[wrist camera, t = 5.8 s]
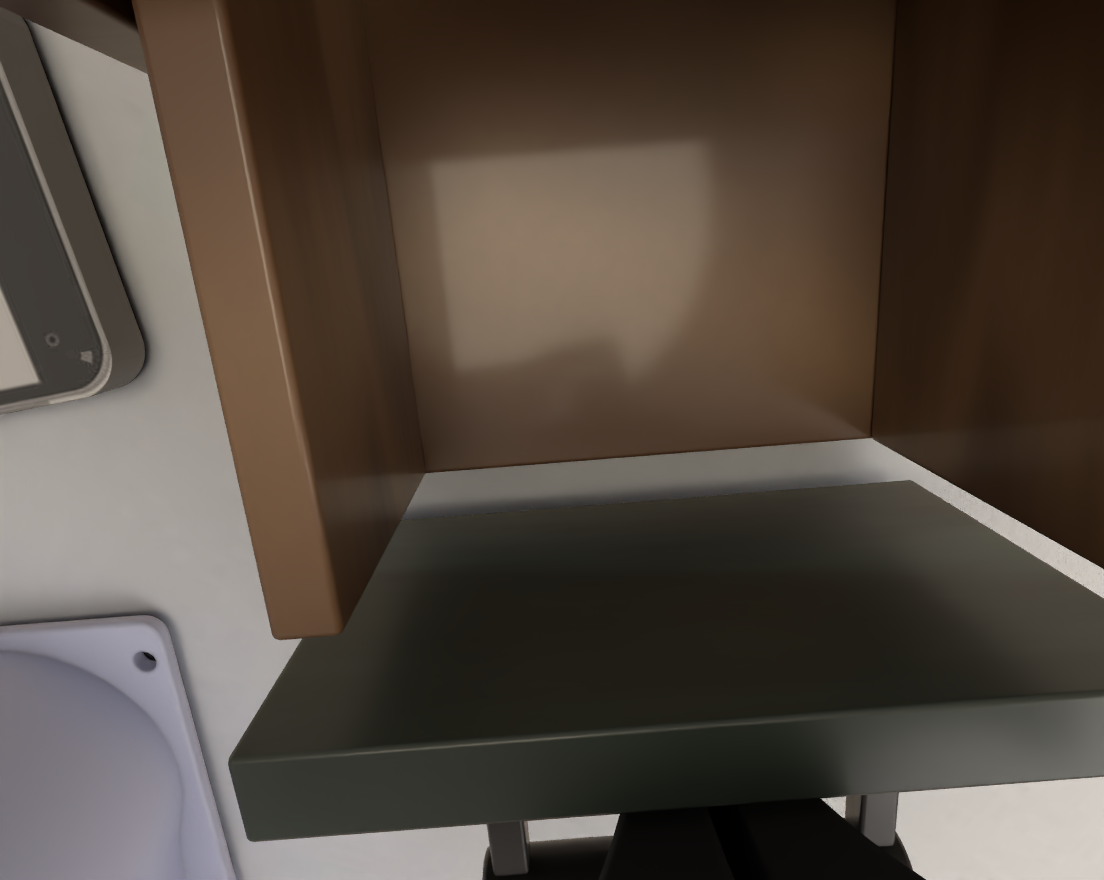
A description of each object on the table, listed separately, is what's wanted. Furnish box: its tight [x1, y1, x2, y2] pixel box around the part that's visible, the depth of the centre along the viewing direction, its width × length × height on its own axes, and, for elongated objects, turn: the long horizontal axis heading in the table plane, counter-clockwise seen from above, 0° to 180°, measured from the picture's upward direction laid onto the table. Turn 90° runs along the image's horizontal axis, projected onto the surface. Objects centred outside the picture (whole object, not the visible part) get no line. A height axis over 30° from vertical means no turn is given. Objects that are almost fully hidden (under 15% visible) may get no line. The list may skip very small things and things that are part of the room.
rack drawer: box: [132, 0, 1104, 880], centre depth 10 cm, size 18×11×7 cm, turn 4°
